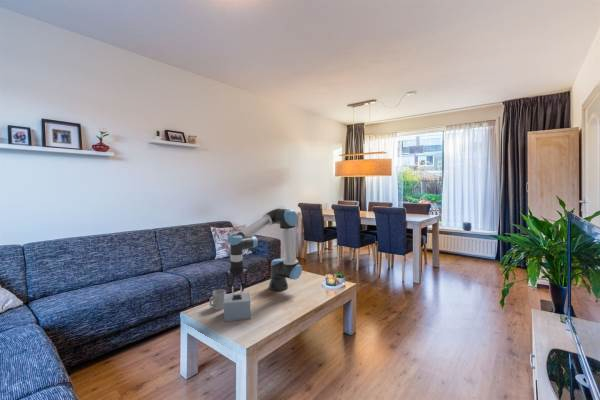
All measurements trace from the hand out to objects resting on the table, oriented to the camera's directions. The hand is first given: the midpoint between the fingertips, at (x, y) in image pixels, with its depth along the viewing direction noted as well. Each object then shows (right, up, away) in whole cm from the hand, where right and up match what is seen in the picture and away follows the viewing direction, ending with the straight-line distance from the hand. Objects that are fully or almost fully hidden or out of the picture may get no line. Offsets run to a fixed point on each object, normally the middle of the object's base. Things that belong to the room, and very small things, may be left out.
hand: (237, 296), depth 186 cm
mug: (-15, -12, +11) cm, 22 cm away
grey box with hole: (0, -12, +1) cm, 12 cm away
